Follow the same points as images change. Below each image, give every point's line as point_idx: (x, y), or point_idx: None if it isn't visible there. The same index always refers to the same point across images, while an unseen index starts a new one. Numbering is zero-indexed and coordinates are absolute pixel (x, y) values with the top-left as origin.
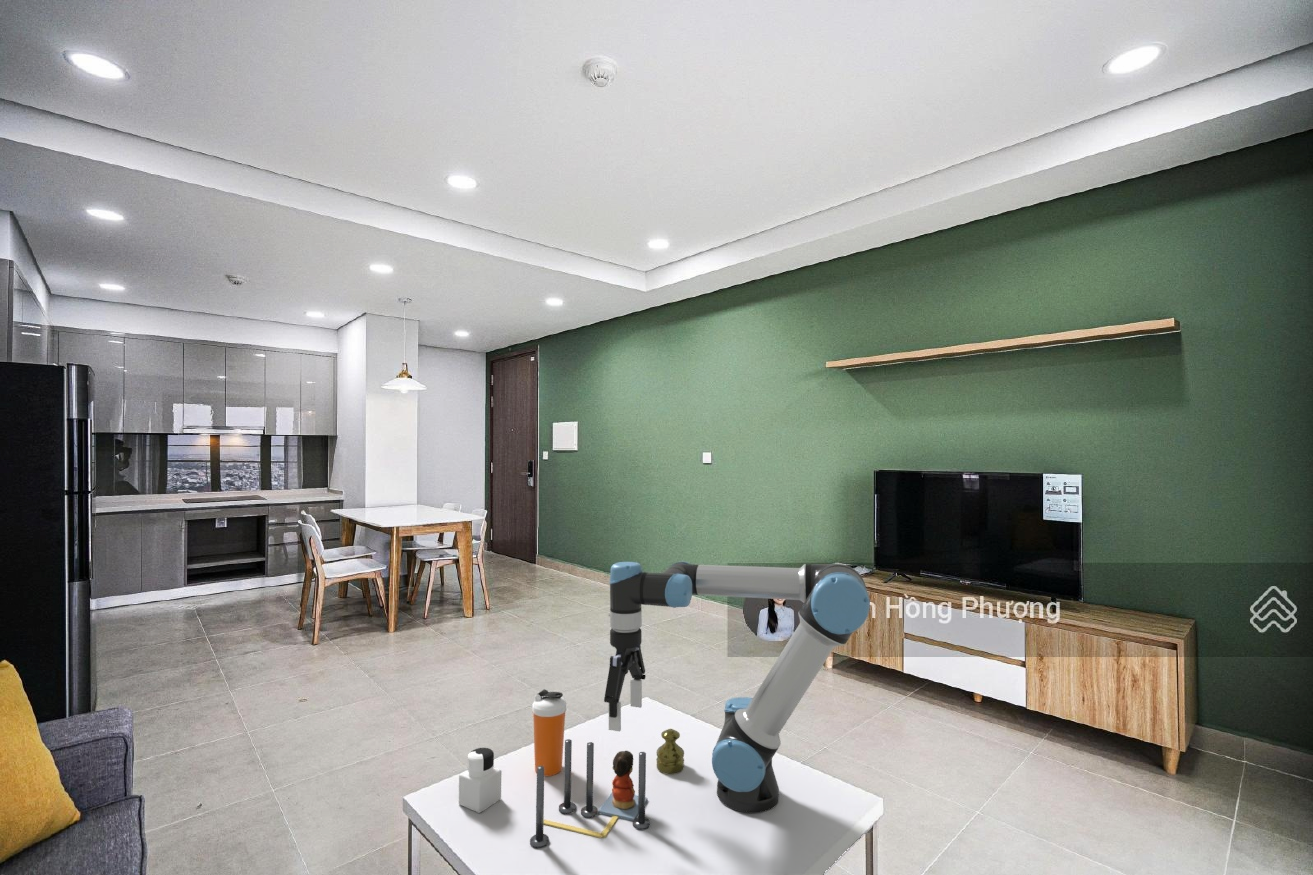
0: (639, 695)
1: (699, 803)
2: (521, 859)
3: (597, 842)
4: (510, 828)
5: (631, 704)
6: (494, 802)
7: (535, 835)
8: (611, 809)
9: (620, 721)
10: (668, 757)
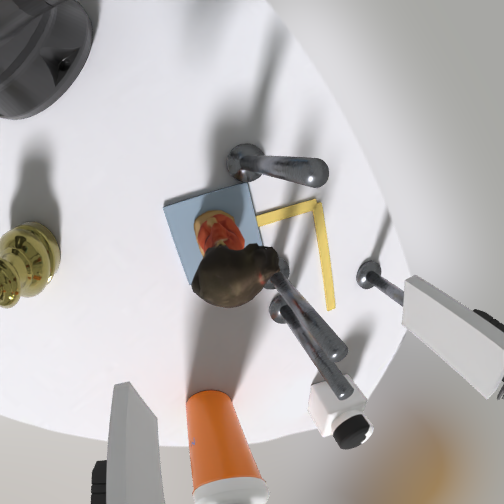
0: (130, 443)
1: (104, 107)
2: (398, 264)
3: (331, 201)
4: (357, 326)
5: (154, 423)
6: (324, 381)
7: (365, 287)
8: (247, 242)
9: (438, 297)
10: (39, 250)
